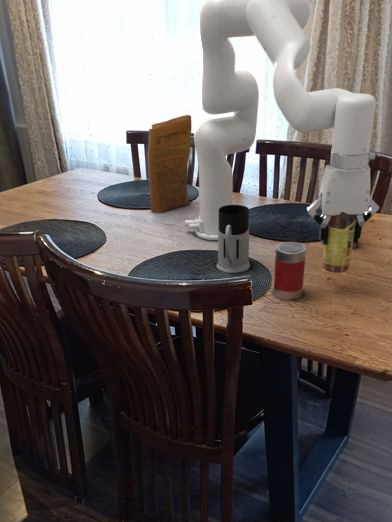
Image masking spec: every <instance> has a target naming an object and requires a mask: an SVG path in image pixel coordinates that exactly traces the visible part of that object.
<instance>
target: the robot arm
mask: <svg viewBox="0 0 392 522" xmlns="http://www.w3.org/2000/svg"><path fill="white" fill-rule="evenodd" d="M197 18H198V19H197V33H198V42H199V46H200V58H201V59H200V105H201V108H202V110H203V112H205V113H206V114H209V115H222V114H223V115H224V114H229V113H230V114H231V115H229V116H223V117H216V118H211V119H208V120H205V121H203V122H201V123H199V124H198V125H197V126H196V128H195V130H194V133H193V143H194V149H195V152H196V157H197V167H198V188H199V191H198V192H199V194H198V195H199V215H198V218H195V219H185V220H184V225H185V226H184V227H185V228H188V229H189V230H193V229H195V230H194V231H195V232H194V233H195V236H196V237H198V238H200V239H203V240H207V241H218V226H219V208H221V207H223V206H226V205H234V204H233V201H234V199H233V195H234V194H233V192H234V191H233V189H234V187H233V182H234V180H233V179H234V176H233V175H234V174H233V168H232V166H231V164H230V163H229V161H228V159H227V157H226V156H228V155H233V154H237V153H242V152H244V151H245V152H246V151H247V150H249V149H251V147H252V146H253V144H254V143H255V140H256V134H257V123H258V114H259V113H258V110H259V99H260V94H259V93H260V92H259V86H258V81H257V80H256V78H255V76H254V75H253V74H252V73H251V72H250V71H247V70H236V52H235V49H234V47H233V43H232V42H231V40H230V39H231V38H244V37H255V38H256V40H257V41H258V43H259V44H260V46H261V48H262V49H263V51H264V52H265V53H264V54H266V56H267V57H268V59H269V60H270V62H271V64H272V65H273V67H274V72H273V77H272V78H273V80H272V88H273V96H274V100H275V103H276V105H277V107H278V109H279V110H280V112H281V114H282V115H283V117H284V118H285V120H286V121H287V123H288V124H289V126H291V128H292V129H294V130H295V131H296V132H299V133H301V134H307V133H314V132H319V131H323V130H329V129H333V131H332V139H331V140H332V141H331V152H330V159H329V160H330V161H329V164H326V165H325V167H324V170H323V174H322V177H321V182H320V188H319V193H318V198H316V200H315V201H313V202H312V203H311V204H310V205H309V206H308V207H307V208H306V212H307V213H308V215H309V216H310V217H311V218H312V219H313V220H314V221H315V222H316V223H317V224H318V225H319V229H318V240H319V241H320V242H321V243H322V245H323V246H324V245H326V244H327V239H328V230H329V229H328V227H327V224H328V222H329V220H330V219H331V217H332V216H336V215H340V213H341V212H344V213H346V214H352V215H356V224H355V232H354V240H353V242H354V243H356V244H358V243H359V239H361V236H362V229H363V226H364V225H365V224H366V222H368V221H369V220H370V219H371V218H372V216H373V215H375V214H376V213H377V212H378V211H379V210H380V206H379V205H378V204H377V203H376V202H375V201H374V200H373V199H372V197H371V167H370V165H369V163H370V161H375V159H376V153H375V152H371V151H370V148H371V141H372V134H373V128H374V127H373V126H374V121H375V114H376V106H377V105H376V104H377V101H376V98H375V97H374V95H372V94H368V93H360V92H359V93H357V92H356V93H355V92H351V91H349V90H347V89H345V88H341V87H333V88H328V89H327V88H326V89H320V90H314V91H306V89H305V87H304V86H303V84H302V83H301V81H300V80H299V78H298V76H297V74H296V70H297V69H299V67H301V65H302V64H304V62H305V61H306V59H307V58H308V56H309V54H310V52H311V41H310V39H309V38H308V36H307V34H306V33H305V32H304V28H306V26H307V25H308V22H309V19H310V5H309V1H308V0H206V1H205V2H204V3H203V5H202V7H201V8H200V11H199V14H198V17H197ZM229 38H230V39H229ZM318 209H319V210H321V215H320V214H318V212H317V210H318Z"/></svg>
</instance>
